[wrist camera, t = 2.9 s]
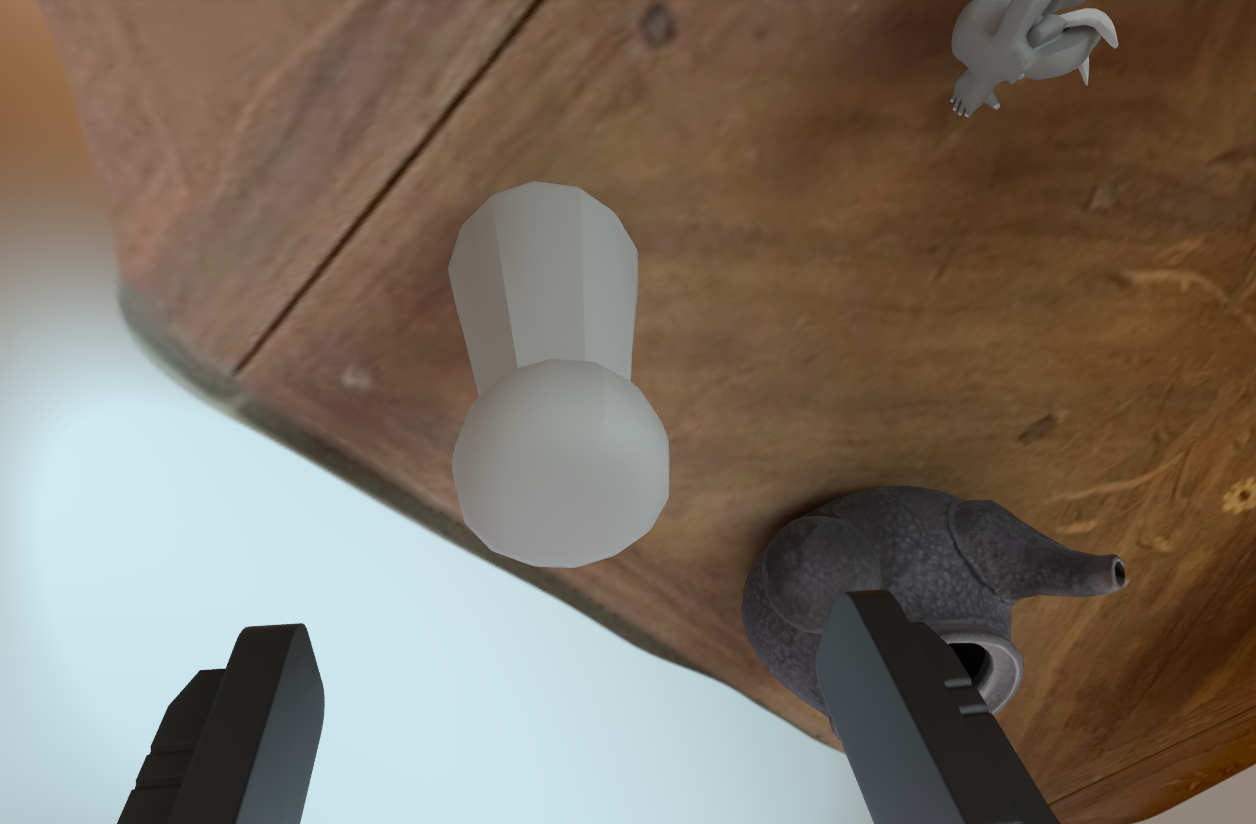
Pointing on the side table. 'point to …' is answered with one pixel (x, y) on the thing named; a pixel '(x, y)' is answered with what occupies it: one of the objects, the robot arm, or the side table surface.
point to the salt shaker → (553, 381)
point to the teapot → (912, 580)
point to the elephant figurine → (1022, 45)
